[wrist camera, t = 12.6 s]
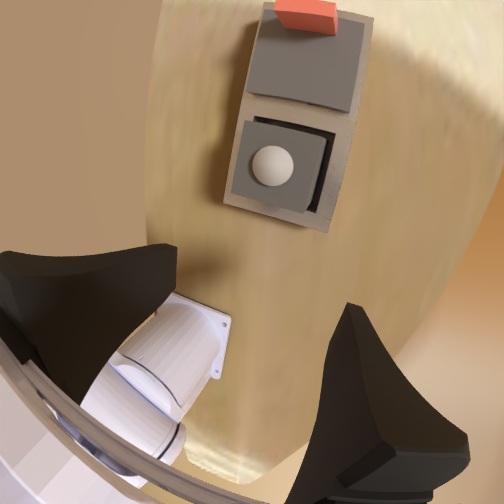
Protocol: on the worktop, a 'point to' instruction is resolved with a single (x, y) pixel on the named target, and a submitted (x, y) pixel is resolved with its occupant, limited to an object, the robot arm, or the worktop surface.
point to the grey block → (278, 165)
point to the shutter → (306, 54)
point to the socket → (309, 121)
